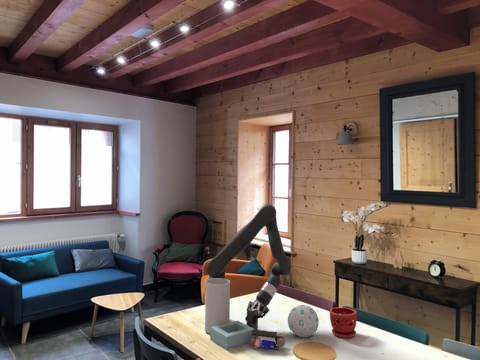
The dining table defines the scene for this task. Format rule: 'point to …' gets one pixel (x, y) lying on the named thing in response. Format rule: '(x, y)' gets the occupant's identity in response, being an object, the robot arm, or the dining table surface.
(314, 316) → the puzzle ball
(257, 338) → the figurine character
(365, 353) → the dining table surface
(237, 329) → the well block
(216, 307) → the cylinder vase
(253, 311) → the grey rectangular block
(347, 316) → the plant pot
